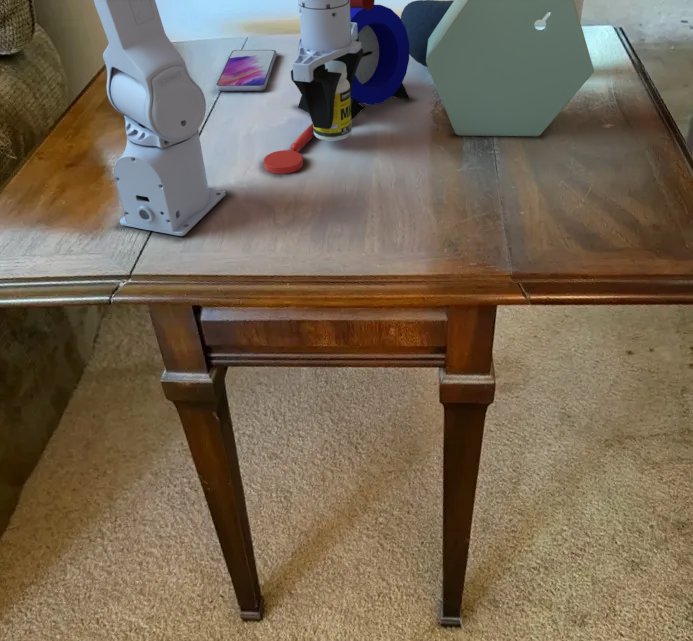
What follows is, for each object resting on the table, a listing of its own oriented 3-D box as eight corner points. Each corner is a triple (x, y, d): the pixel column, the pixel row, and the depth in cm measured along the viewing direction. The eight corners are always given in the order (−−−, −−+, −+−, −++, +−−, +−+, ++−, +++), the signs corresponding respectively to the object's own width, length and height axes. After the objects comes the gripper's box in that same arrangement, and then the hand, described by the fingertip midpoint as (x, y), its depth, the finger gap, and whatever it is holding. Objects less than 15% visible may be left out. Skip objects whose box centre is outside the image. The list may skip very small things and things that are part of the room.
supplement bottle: (347, 143, 92) (344, 74, 87) (309, 141, 93) (304, 73, 87) (355, 126, 95) (352, 59, 90) (318, 124, 96) (313, 58, 91)
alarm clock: (347, 129, 98) (341, 8, 88) (288, 103, 105) (277, -12, 96) (414, 101, 104) (415, -15, 94) (354, 78, 111) (350, -32, 102)
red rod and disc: (293, 176, 88) (292, 167, 88) (257, 171, 90) (256, 161, 89) (336, 128, 98) (336, 119, 97) (304, 124, 100) (303, 115, 99)
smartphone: (277, 49, 120) (264, 86, 108) (277, 54, 120) (265, 92, 109) (231, 49, 120) (214, 86, 108) (232, 55, 121) (214, 92, 109)
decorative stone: (492, 75, 110) (498, 3, 104) (413, 86, 108) (414, 13, 102) (464, 48, 119) (468, -19, 113) (390, 58, 117) (390, -11, 111)
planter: (508, 143, 103) (618, 9, 91) (511, 170, 97) (629, 30, 85) (403, 75, 99) (504, -75, 87) (399, 98, 93) (507, -59, 81)
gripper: (332, 25, 78) (339, 147, 86) (380, -15, 88) (382, 98, 97) (270, 20, 80) (282, 140, 89) (324, -18, 90) (330, 92, 99)
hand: (331, 118), depth 93 cm, fingers closed on supplement bottle, 5 cm apart
